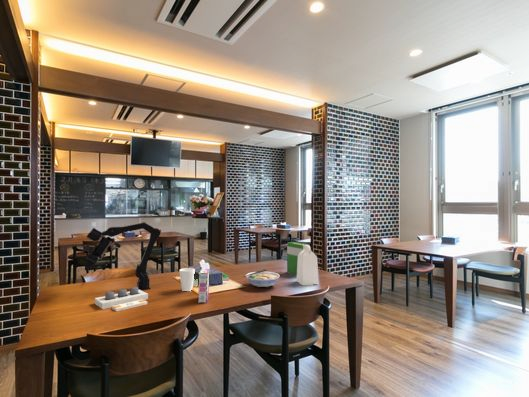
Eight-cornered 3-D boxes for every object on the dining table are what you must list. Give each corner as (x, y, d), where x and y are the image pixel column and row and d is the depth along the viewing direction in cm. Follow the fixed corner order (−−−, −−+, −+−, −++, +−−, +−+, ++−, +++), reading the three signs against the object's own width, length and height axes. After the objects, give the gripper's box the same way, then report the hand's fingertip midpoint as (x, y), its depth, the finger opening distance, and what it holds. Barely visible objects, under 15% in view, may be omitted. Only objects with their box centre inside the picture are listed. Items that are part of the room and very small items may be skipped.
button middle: (124, 295, 171) (124, 288, 171) (127, 296, 168) (127, 290, 168) (116, 296, 168) (116, 290, 168) (119, 298, 165) (119, 292, 165)
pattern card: (142, 301, 168) (142, 298, 168) (147, 304, 164) (147, 301, 164) (111, 308, 157) (112, 305, 157) (116, 311, 153) (116, 308, 153)
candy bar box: (207, 303, 167) (207, 273, 167) (198, 303, 166) (198, 273, 167) (209, 296, 178) (209, 268, 178) (200, 297, 177) (200, 268, 178)
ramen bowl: (264, 294, 184) (265, 280, 184) (237, 287, 198) (237, 274, 198) (287, 285, 204) (287, 273, 204) (260, 280, 218) (260, 268, 218)
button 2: (136, 292, 176) (136, 286, 176) (139, 294, 173) (139, 288, 173) (128, 294, 173) (128, 288, 173) (131, 296, 170) (131, 289, 170)
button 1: (112, 297, 167) (112, 291, 167) (115, 299, 164) (115, 292, 164) (103, 299, 164) (104, 292, 164) (106, 301, 161) (106, 294, 161)
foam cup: (197, 289, 193) (197, 268, 193) (189, 293, 184) (189, 271, 185) (184, 287, 196) (184, 267, 196) (176, 291, 188) (176, 270, 188)
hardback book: (309, 275, 232) (309, 244, 233) (301, 277, 228) (302, 245, 228) (294, 271, 247) (294, 241, 247) (287, 272, 243) (287, 242, 243)
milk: (318, 284, 207) (318, 246, 207) (302, 285, 204) (302, 246, 204) (311, 280, 219) (311, 244, 219) (296, 281, 216) (296, 244, 216)
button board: (139, 294, 181) (139, 289, 181) (148, 299, 173) (148, 293, 173) (94, 303, 164) (94, 298, 164) (102, 309, 156) (102, 303, 156)
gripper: (93, 237, 192) (78, 260, 188) (86, 240, 174) (69, 264, 171) (109, 246, 194) (95, 268, 191) (104, 249, 177) (88, 274, 173)
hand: (87, 268), depth 182 cm, fingers open, 9 cm apart
